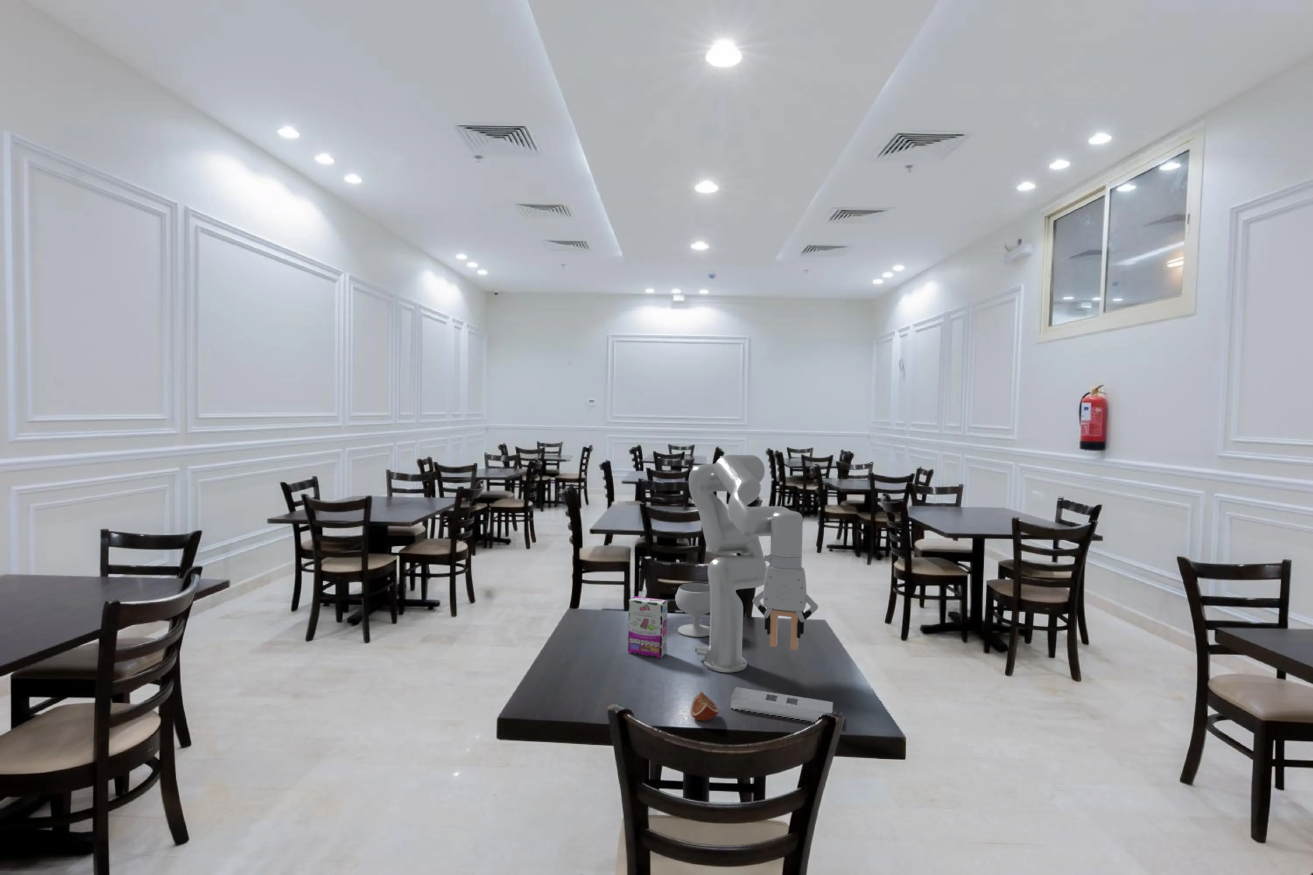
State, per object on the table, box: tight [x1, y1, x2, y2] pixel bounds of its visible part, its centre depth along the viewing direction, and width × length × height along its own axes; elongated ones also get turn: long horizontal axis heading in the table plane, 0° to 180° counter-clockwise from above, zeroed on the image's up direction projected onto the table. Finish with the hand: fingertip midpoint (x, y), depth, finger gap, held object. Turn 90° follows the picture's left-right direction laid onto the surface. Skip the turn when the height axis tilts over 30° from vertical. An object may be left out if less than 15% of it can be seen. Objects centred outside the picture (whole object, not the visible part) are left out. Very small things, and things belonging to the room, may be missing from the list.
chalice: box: [675, 582, 710, 638], centre depth 209 cm, size 14×14×15 cm
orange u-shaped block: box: [769, 609, 799, 651], centre depth 153 cm, size 7×2×9 cm, turn 72°
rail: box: [730, 686, 834, 724], centre depth 153 cm, size 24×6×3 cm, turn 72°
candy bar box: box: [627, 595, 669, 659], centre depth 189 cm, size 11×5×16 cm, turn 68°
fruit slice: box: [690, 691, 720, 722], centre depth 149 cm, size 8×7×5 cm
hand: (784, 633), depth 153 cm, fingers closed on orange u-shaped block, 6 cm apart
